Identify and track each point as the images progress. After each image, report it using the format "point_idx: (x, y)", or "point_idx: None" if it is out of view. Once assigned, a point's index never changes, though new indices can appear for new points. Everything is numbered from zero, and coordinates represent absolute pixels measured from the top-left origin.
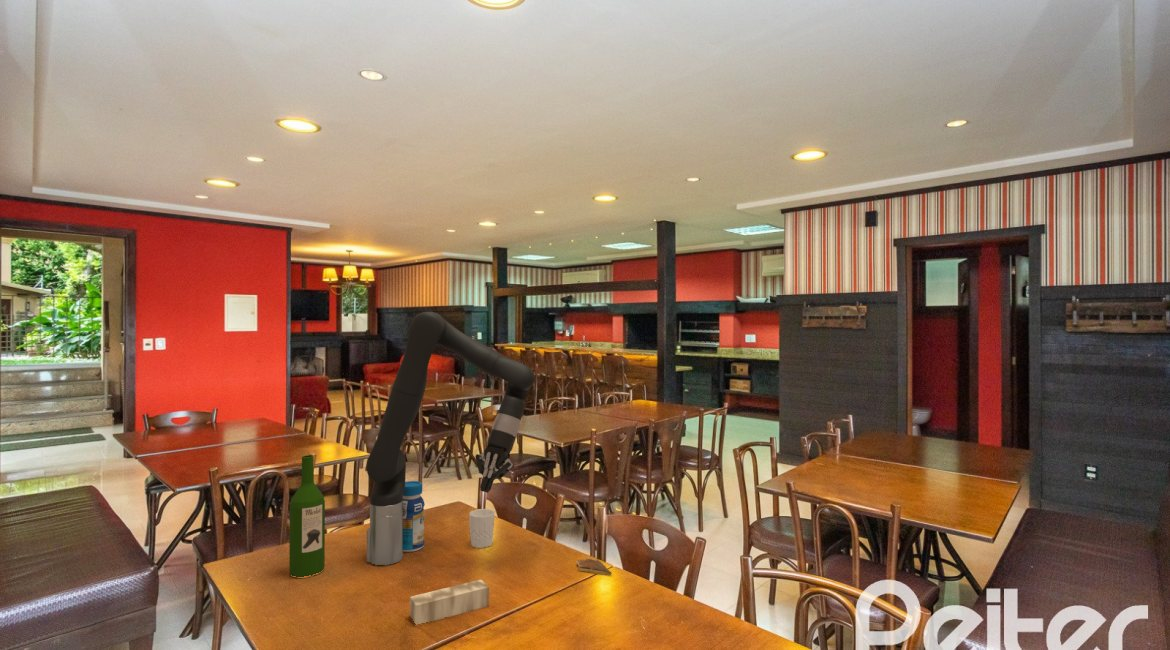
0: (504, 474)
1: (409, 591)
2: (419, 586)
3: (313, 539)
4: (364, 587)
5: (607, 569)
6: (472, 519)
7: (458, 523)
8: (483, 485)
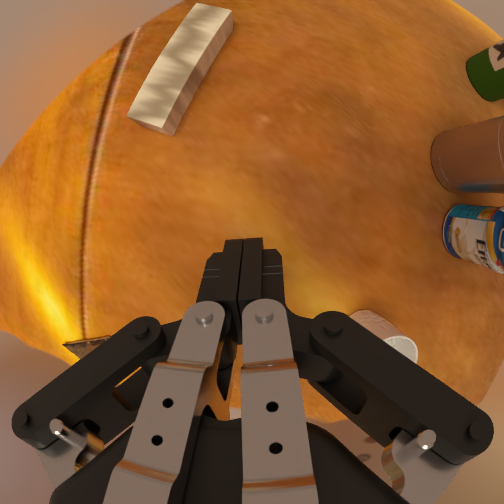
0: (120, 389)
1: (313, 79)
2: (316, 101)
3: (500, 50)
4: (387, 60)
5: (74, 353)
6: (393, 332)
7: (449, 364)
8: (244, 256)
